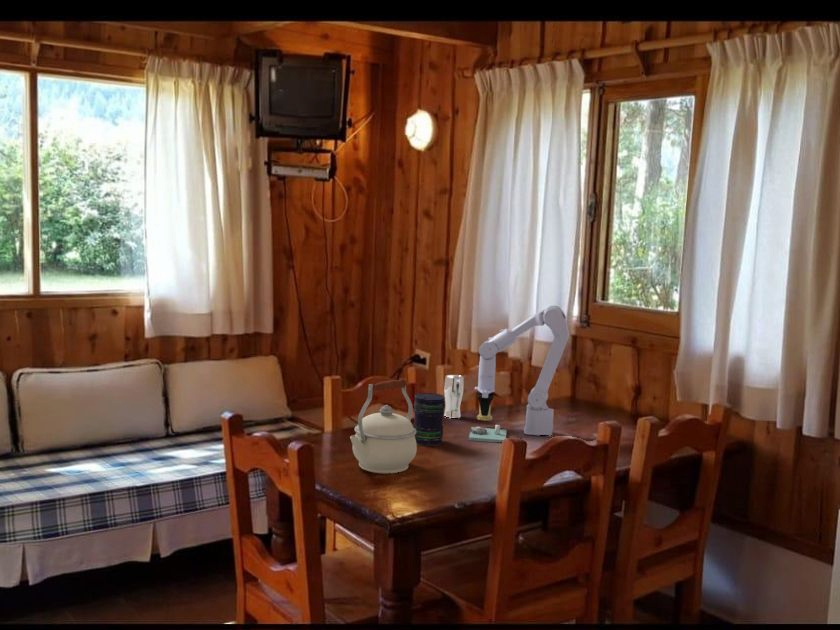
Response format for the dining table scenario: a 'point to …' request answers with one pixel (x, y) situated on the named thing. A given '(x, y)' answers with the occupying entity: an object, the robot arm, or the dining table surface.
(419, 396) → the storage jar
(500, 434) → the carrier plate
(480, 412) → the planet gear
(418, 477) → the dining table surface
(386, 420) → the kettle
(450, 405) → the beer glass
